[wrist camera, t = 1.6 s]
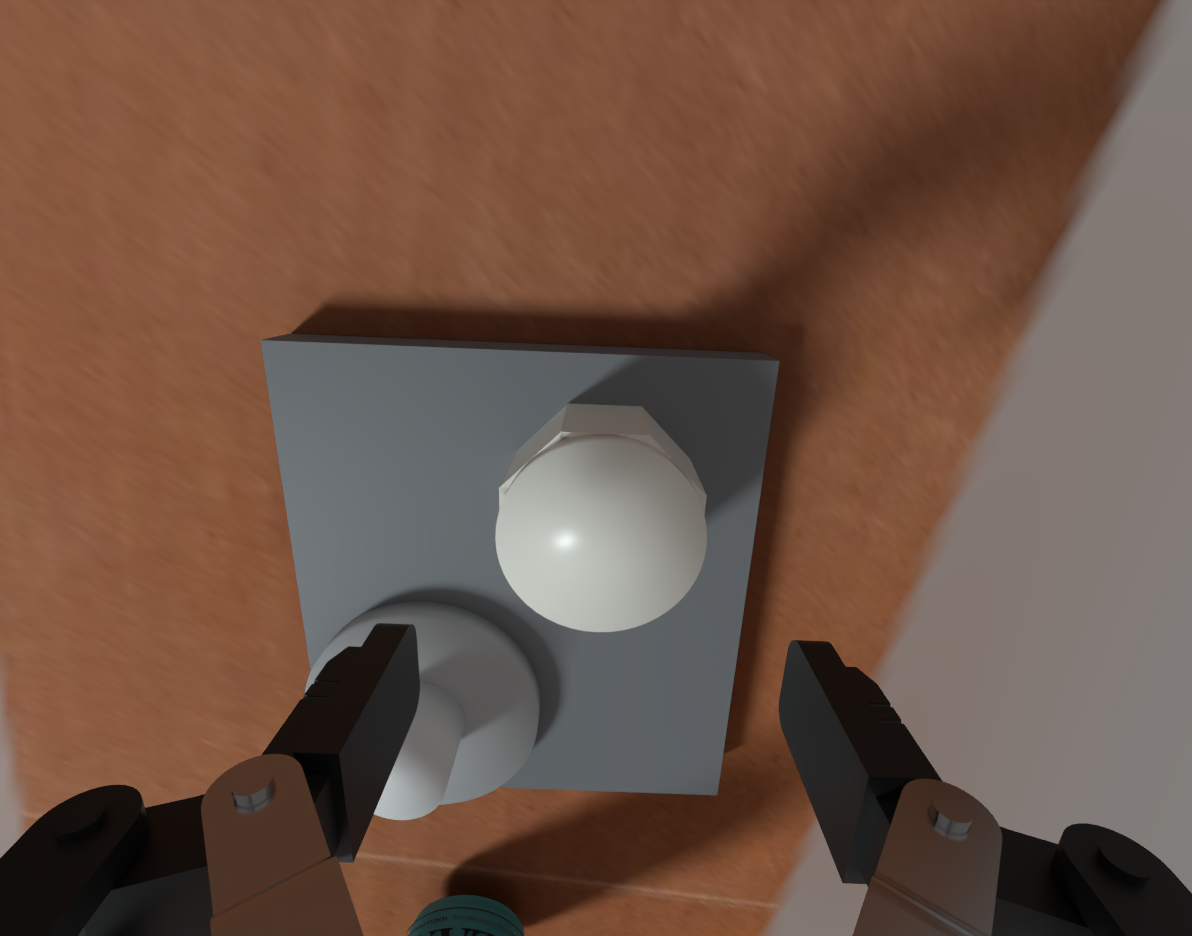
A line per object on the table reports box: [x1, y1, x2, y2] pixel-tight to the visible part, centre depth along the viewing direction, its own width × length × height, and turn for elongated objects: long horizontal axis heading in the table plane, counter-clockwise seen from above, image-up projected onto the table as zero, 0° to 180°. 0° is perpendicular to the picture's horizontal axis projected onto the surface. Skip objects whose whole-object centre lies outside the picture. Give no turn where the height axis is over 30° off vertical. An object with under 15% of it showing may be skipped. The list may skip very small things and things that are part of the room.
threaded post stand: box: [261, 334, 780, 820], centre depth 22 cm, size 20×18×6 cm
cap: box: [495, 403, 707, 632], centre depth 20 cm, size 6×6×4 cm
